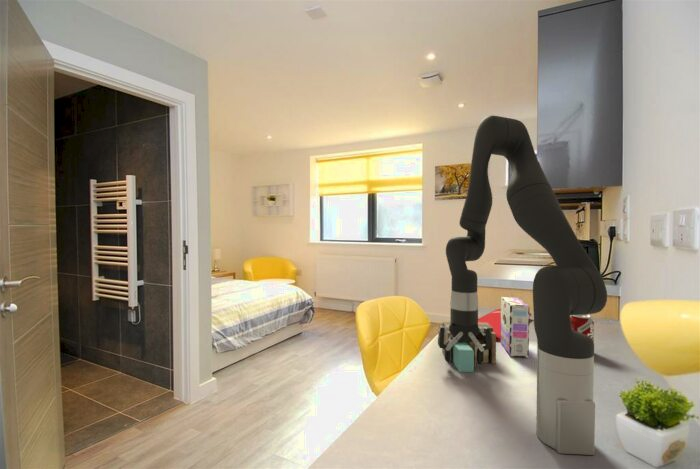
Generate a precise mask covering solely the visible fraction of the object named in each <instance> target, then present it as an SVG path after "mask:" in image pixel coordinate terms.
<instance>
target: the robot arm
mask: <svg viewBox="0 0 700 469" xmlns="http://www.w3.org/2000/svg"><path fill="white" fill-rule="evenodd" d="M492 155H494V156H501V157H504V158H506V160H507V163H508V164H509V166H510V169H511V174H512V175H511V177H510V179H509V181H508V184H507V188H506V193H505V194H506V196H505V197H506V201H507V203H508V206H509V209H510V211H511V214H512V216H513V218H514V221H515V223H516V224H517V225H518V226H519V227H520V229H522V230H523V232H525V233H526V235H528V236H529V237H530V238H531V239H532V240H534V241H535V242H536V243H538V244H539V246H541V247H542V248H543V249H544V250H545V251H546V252H548V254H549V256H550V257H551V258H552V260H553V261H554V264H555V265H549V266H543V267H541V268H540V269H538V271H537V272H536V273H535V276H534V278H533V283H532V305H533V306H532V307H533V308H532V309H533V328H534V332H535V336H536V340H537V341H536V342H537V346H536V350H537V351H536V352H537V353H536V357H537V358H536V409H535V410H536V428H535V429H536V431H535V432H536V433H535V434H536V436H537V437H538V439H539V440H540V441H541V442H542V443H544V444H545V445H547V446H549V447H550V448H553V449H554V450H556V452H557V453H558V454H566V455H567V454H568V455H589V456H590V455H591V456H595V447H596V446H595V438H596V437H595V436H596V433H595V432H596V403H595V402H594V379H595V378H594V373H595V369H594V367H595V341H594V342H593V340H592V339H591V338H590V337H589V336H587V335H585V334H582V333H580V332H577V331H574V330H572V327H571V320H570V317H571V316H572V315H583V314H587V315H592V314H593V315H594V314H597V313H600V312H601V311H603V309H604V308H605V307H606V305H607V301H608V291H607V287H606V283H605V281H604V279H603V276H602V275H601V272H599V269H598V268H597V266H596V265H595V263H594V262H593V260H592V259H591V256H589V254H588V253H587V251H586V249H585V247H584V246H583V245H582V244H581V242H580V240H579V238H578V237H577V235H576V233H575V232H574V230H573V228H572V226H571V224H570V222H569V221H568V219H567V217H566V214H565V213H564V210H563V208H562V207H561V204H560V202H559V200H558V197H557V195H556V194H555V192H554V190H553V187H552V186H551V184H550V182H549V181H548V179H547V177H546V175H545V173H544V170H543V168H542V166H541V164H540V161H539V159H538V157H537V155H536V151H535V149H534V146H533V143H532V139H531V137H530V134H529V131H528V129H527V127H526V125H525V123H523V121H520V120H518V119H516V118H511V117H505V116H499V115H494V114H493V115H492V114H491V115H488V116H486V117H484V118H483V119H482V120H481V121H480V123H479V125H478V126H477V129H476V132H475V136H474V142H473V148H472V155H471V165H470V172H469V180H468V186H467V187H468V188H467V191H466V192H467V193H466V197H465V200H464V203H463V208H462V210H461V214H460V216H459V217H460V219H459V226H460V227H461V228H462V229H463V230H466V231H467V234H466V236H455V237H451V238H450V239H448V241H447V243H446V246H445V255H446V256H445V257H446V260H447V264H448V269H449V272H450V275H451V290H450V291H451V292H450V301H449V302H450V303H449V305H450V306H449V307H450V309H449V310H450V315H449V316H450V321H449V322H450V326H449V327H443V324H442V325H441V324H439V325H438V337H437V346H438V347H439V348H440V349H442V348H443V349H444V355H443V356H444V360H445V362H447V363H446V364H451V363H450V349H451V347H452V346H453V345H455V344H456V342H459V343H463V342H466V343H470V342H472V341H473V342H474V343H475V345H476V346H477V347H478V349H477V362H476V364H477V365H482V363H484V362H483V354H484V351H485V350H487V349H488V350H490V349H491V342H490V330H489V328H487V327H486V326H484V327H483V328H479V327H478V319H479V296H478V274H477V272H476V271H475V270H472V269H468V266H467V262H475V261H477V260H479V259H480V258H481V257H482V256H483V254H484V251H485V248H486V226H487V222H488V220H489V216H490V213H491V211H492V208H493V207H492V206H493V192H492V188H491V184H490V180H489V163H490V160H491V157H492ZM448 331H449V332H450V333H451V334H452V335H451V336H450V337H449V339H448V341H447V342H446V343H444V335H445V334H447V332H448ZM479 332H481V334H482V335H483V337H484V344H482V345H481V344H480V343H479V341H478V340H477V339H476V336H477V335H478V334H479ZM452 337H453V338H452Z"/></svg>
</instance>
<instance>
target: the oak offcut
mask: <svg viewBox="0 0 700 469" xmlns="http://www.w3.org/2000/svg"><path fill="white" fill-rule="evenodd" d="M478 341H479V343H480V344H481V345H482V344H484V341H483V340H478ZM477 349H478V347H477V346H476V345H475V343H474V342H473V351H474V363H477ZM488 352H489V350H488V349H487V350H485V351H484V354H483V362H482V363H489V359H488Z"/></svg>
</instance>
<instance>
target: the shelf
mask: <svg viewBox="0 0 700 469" xmlns="http://www.w3.org/2000/svg"><path fill="white" fill-rule="evenodd" d="M442 326H443V327H449V326H450V321H442ZM484 326H486V327H487V328H489V330H490V342H491V349H490V350H489V352H488V362H490V363H491V364H492V365H496V364H497V341H496V333H495V332H493V327H492V326H490V325H489V324H488V323H485V322H478V327H479V328H483V327H484ZM451 335H452V334H451V333H450V332H449V331H448V332H447V334H445V335H444V343H446V342H447V341H448V339H449V337H450V336H451ZM452 338H453V337H452ZM476 339H477V340H483V341H484V337H483V335H482V334H481V332H479V334H478V335H477V336H476ZM467 344H468V345H469V346H470V347H471V348H472V350H473V341H472V342H470V343H467ZM441 351H442V355H443V356H444V349H443V348H441ZM451 363H452V360H451V349H450V363H449V364H451Z"/></svg>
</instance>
